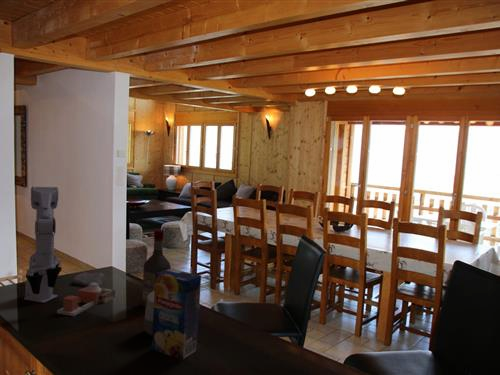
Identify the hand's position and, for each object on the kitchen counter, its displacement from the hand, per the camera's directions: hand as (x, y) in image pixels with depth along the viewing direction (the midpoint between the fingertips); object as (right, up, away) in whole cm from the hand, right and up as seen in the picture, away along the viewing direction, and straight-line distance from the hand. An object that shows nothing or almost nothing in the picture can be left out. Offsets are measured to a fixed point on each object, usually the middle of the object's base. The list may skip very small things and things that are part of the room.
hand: (43, 290), depth 151 cm
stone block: (+1, -7, +39) cm, 39 cm away
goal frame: (+11, -8, +22) cm, 26 cm away
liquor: (+35, -11, +18) cm, 41 cm away
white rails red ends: (+8, -9, +10) cm, 16 cm away
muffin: (+10, -9, +20) cm, 24 cm away
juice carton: (+49, -15, -18) cm, 54 cm away
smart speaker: (+42, -13, -6) cm, 44 cm away
